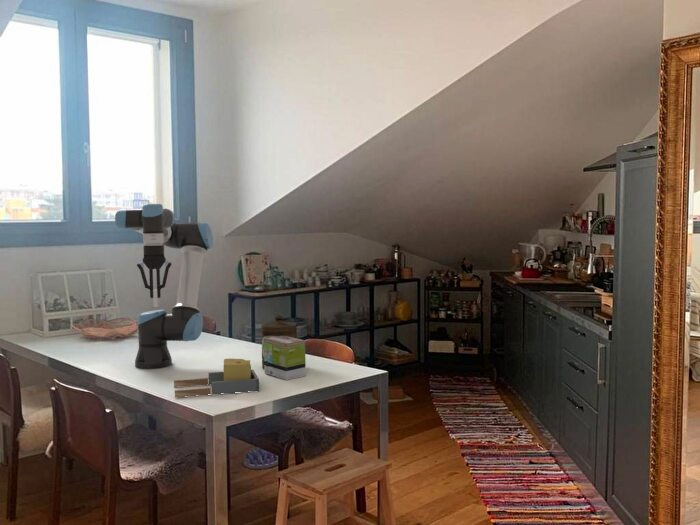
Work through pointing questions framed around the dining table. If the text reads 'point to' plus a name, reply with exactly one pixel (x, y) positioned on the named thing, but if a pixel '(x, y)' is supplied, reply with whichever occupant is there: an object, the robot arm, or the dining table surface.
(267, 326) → the wooden container
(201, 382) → the lane rails
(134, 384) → the dining table surface
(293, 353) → the tea box
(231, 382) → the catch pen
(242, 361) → the cheese
